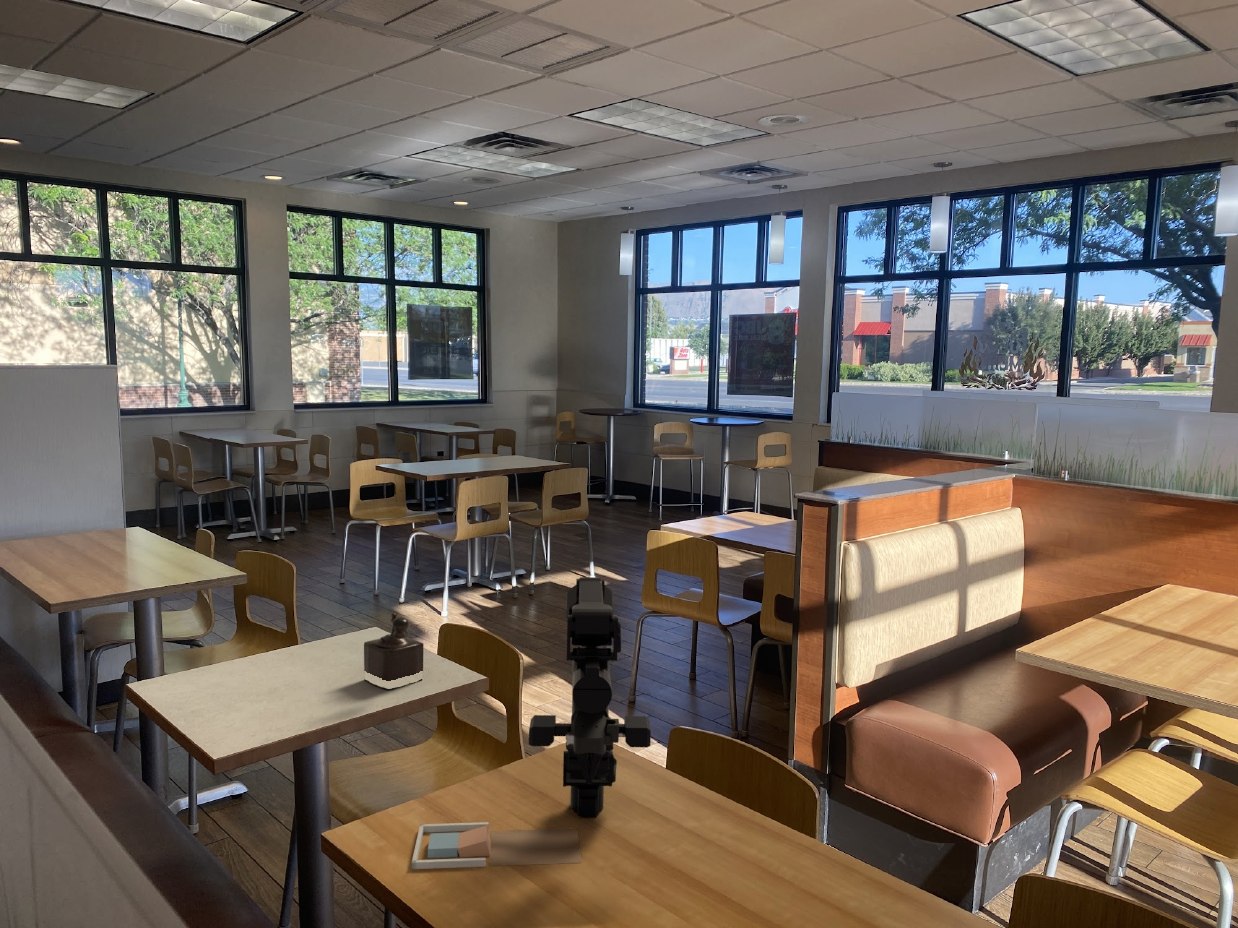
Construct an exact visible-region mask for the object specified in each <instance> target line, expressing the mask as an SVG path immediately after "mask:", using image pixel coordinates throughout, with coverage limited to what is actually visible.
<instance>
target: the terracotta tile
mask: <svg viewBox="0 0 1238 928" xmlns="http://www.w3.org/2000/svg"><path fill="white" fill-rule="evenodd" d="M458 833H459V832H458ZM457 849H458V856H459V858H467V857H469V858H471V857H490V849H491V834H490V829H489V830H488V826H484V827H480V828H476V829H473V830H469V831H461V832H460V833H459V841H458V848H457Z"/></svg>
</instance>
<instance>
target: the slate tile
mask: <svg viewBox="0 0 1238 928" xmlns="http://www.w3.org/2000/svg"><path fill="white" fill-rule="evenodd" d="M459 833H461V831H458V832H430V834H429V835H430V836H429V841H428V846H427V858H428V859H436V858H437V859H439V858H458V856H459V852H458V849H457V848H458V841H459Z"/></svg>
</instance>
